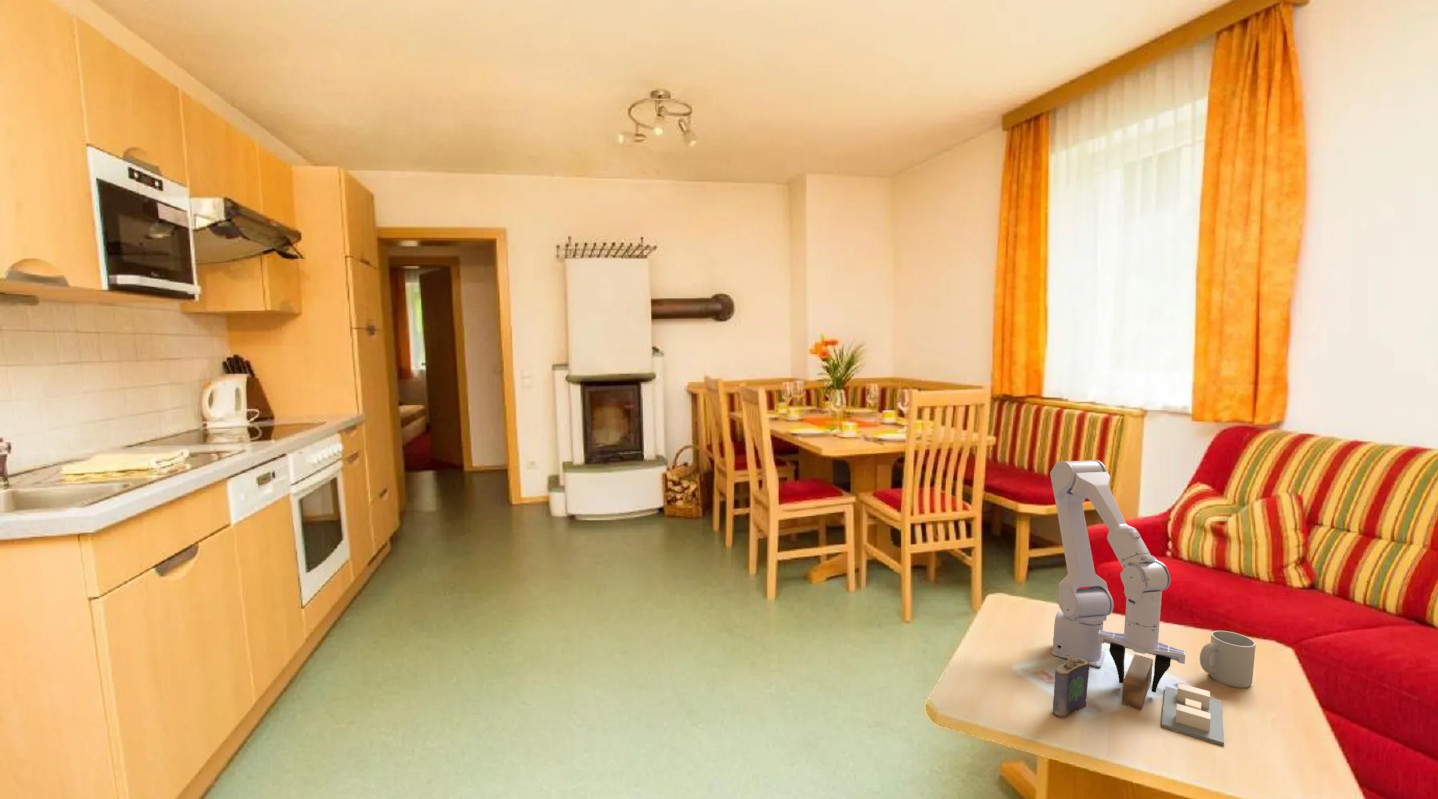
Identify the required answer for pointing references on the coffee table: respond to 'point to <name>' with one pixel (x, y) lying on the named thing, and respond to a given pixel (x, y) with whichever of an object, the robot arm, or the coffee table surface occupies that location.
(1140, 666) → the case
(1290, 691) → the coffee table surface
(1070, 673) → the flask
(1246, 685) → the cup
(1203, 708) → the stand
